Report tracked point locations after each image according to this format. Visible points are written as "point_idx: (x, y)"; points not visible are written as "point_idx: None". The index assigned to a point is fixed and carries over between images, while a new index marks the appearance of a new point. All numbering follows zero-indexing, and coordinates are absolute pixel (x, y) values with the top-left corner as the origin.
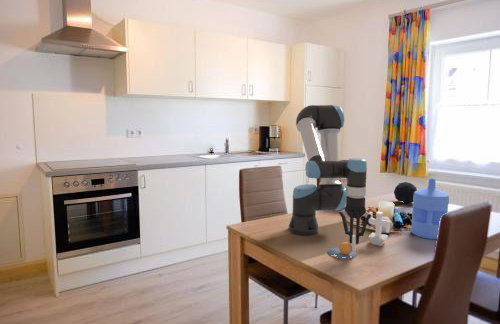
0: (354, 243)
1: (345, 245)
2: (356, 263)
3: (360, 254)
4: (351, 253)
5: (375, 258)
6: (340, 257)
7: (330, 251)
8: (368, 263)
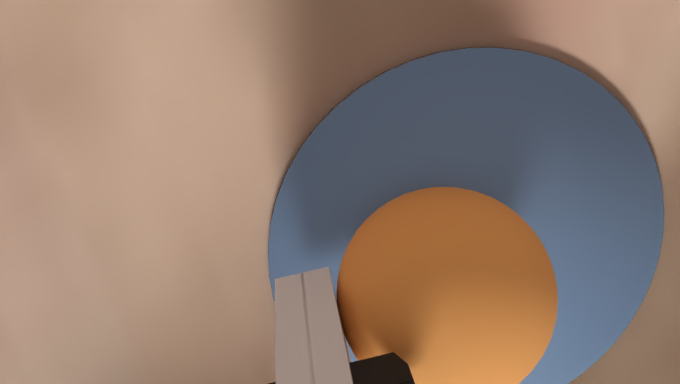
0: (297, 359)
1: (448, 262)
2: (176, 36)
3: (243, 369)
4: None
5: (26, 360)
6: (446, 95)
7: (626, 221)
8: (29, 141)
